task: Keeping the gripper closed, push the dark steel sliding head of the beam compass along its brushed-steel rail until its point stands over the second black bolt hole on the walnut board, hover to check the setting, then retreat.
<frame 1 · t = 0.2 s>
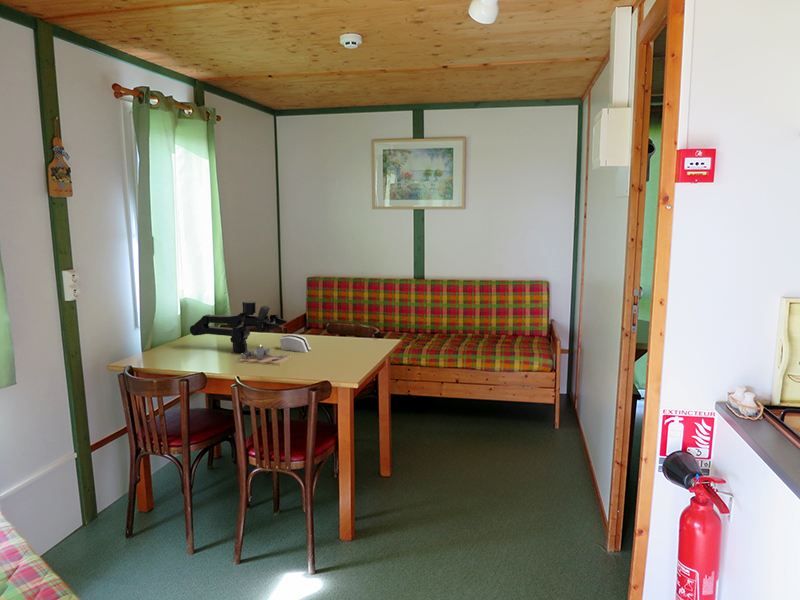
hand: (283, 323, 290), 17 cm above the table, tool horizontal, fingers open, 9 cm apart
grey curved block: (294, 351, 302), on the table
hole board: (264, 360, 283), on the table
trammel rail: (264, 355, 282), on the hole board, point 2 cm above the table
sliding head: (262, 350, 282), point 5 cm above the table, slide at 0.0 cm
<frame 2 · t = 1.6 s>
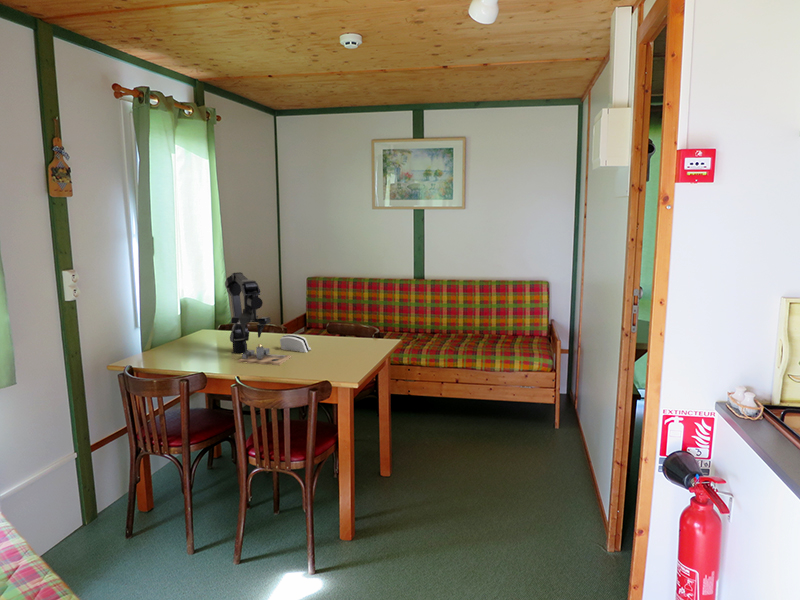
hand: (251, 337, 279), 12 cm above the table, tool pointing down, fingers open, 8 cm apart
nothing on the table moved.
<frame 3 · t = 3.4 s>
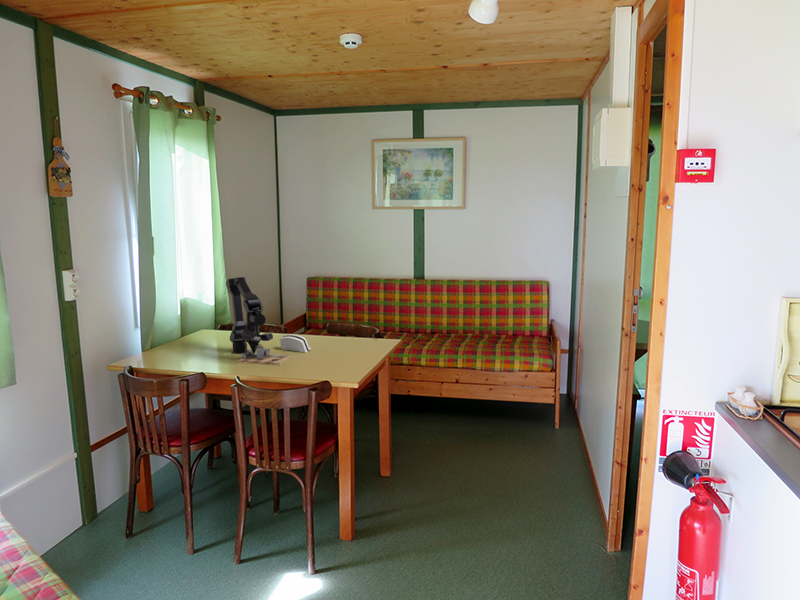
hand: (254, 353, 280), 4 cm above the table, tool pointing down, fingers closed
sliding head: (262, 350, 282), point 5 cm above the table, slide at 0.1 cm, touching gripper
everything else where it was.
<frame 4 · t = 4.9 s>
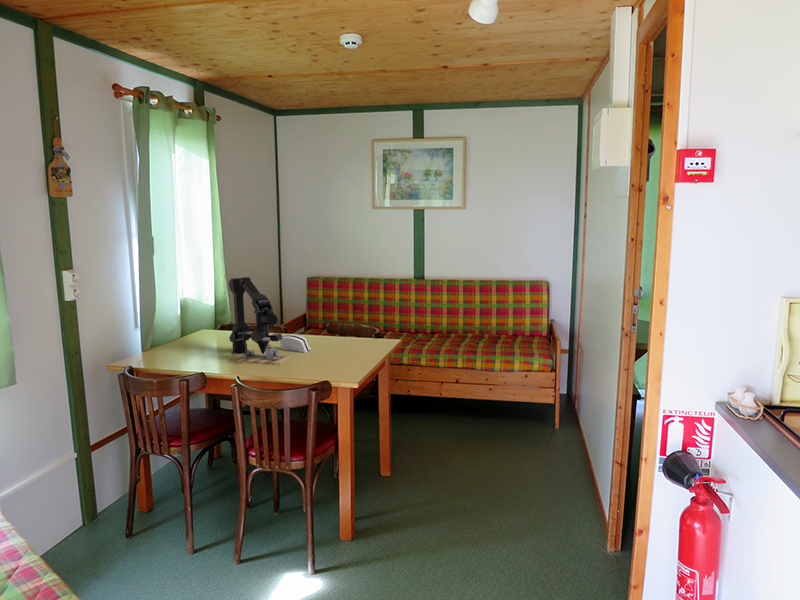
hand: (263, 353, 279), 4 cm above the table, tool pointing down, fingers closed
sliding head: (271, 350, 281), point 5 cm above the table, slide at 5.1 cm, touching gripper
everything else where it was.
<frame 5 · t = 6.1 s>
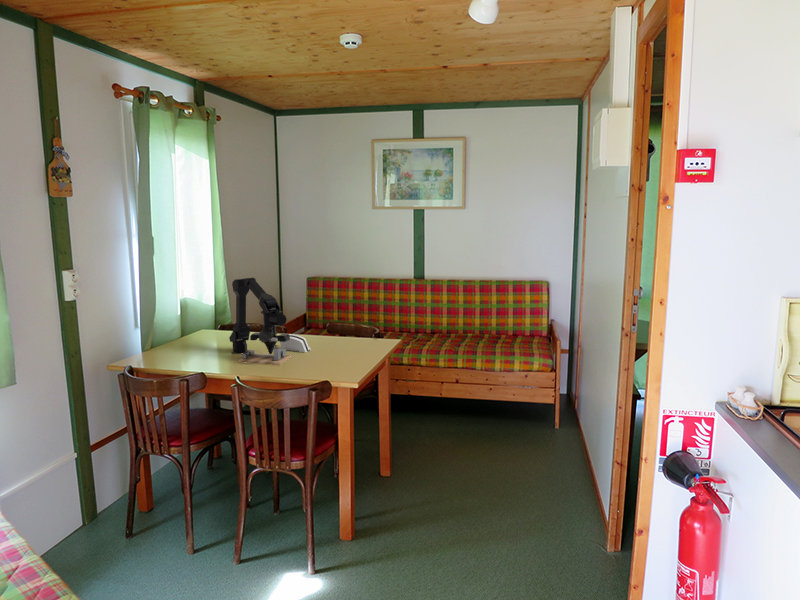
hand: (270, 354, 279), 4 cm above the table, tool pointing down, fingers closed
sliding head: (279, 351, 280), point 5 cm above the table, slide at 9.1 cm, touching gripper
everything else where it was.
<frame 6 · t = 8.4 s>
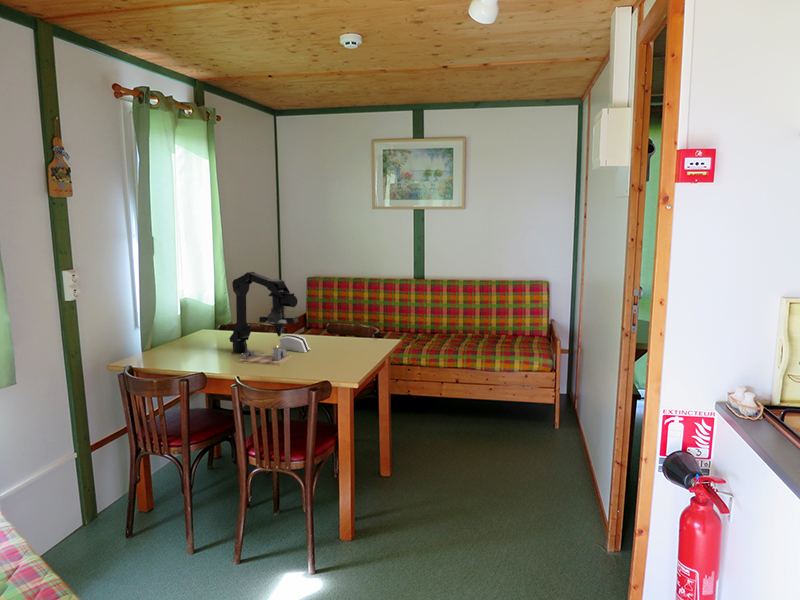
hand: (279, 336, 282), 12 cm above the table, tool pointing down, fingers closed
sliding head: (279, 351, 280), point 5 cm above the table, slide at 9.2 cm
everything else where it was.
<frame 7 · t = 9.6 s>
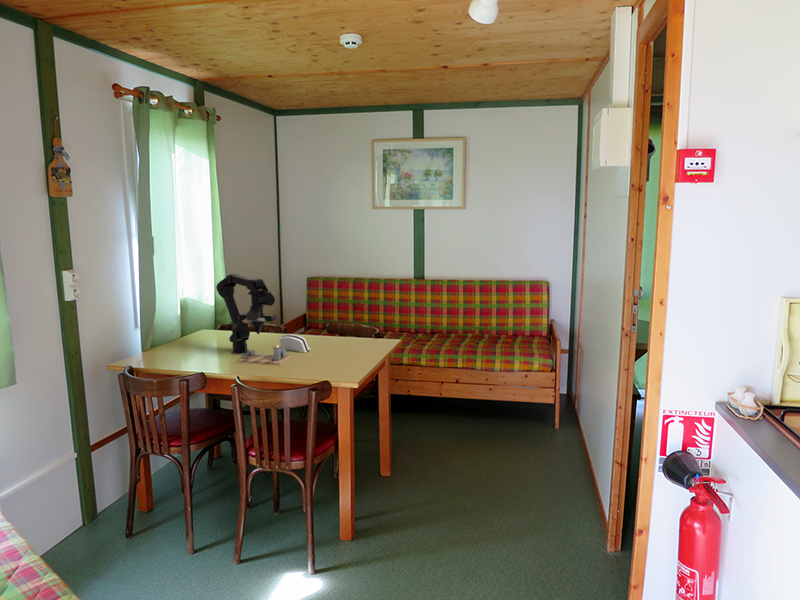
hand: (258, 333, 288), 12 cm above the table, tool pointing down, fingers closed
nothing on the table moved.
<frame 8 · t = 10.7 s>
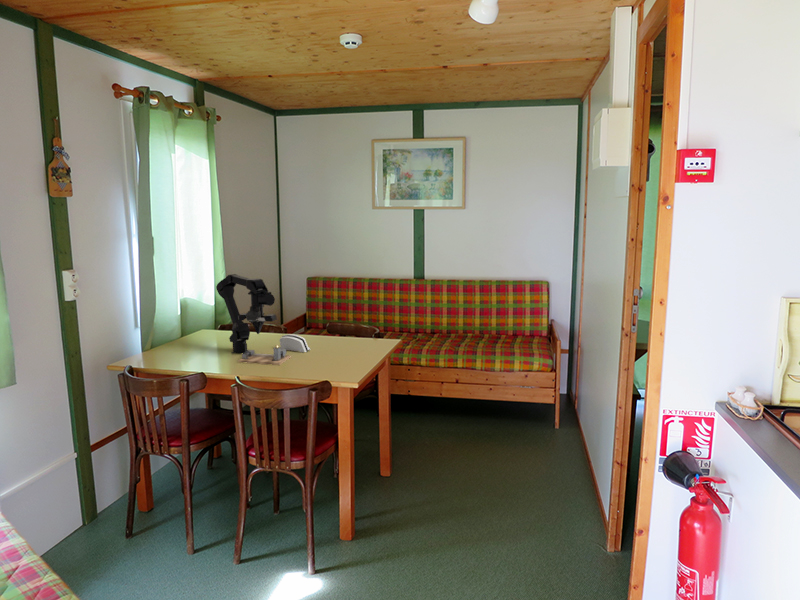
hand: (258, 333, 288), 12 cm above the table, tool pointing down, fingers closed
nothing on the table moved.
at the end: sliding head slide at 9.2 cm; sliding head 1.2 cm from the target spot on the hole board, point 5.1 cm above the hole board's base; the gripper is holding nothing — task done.
